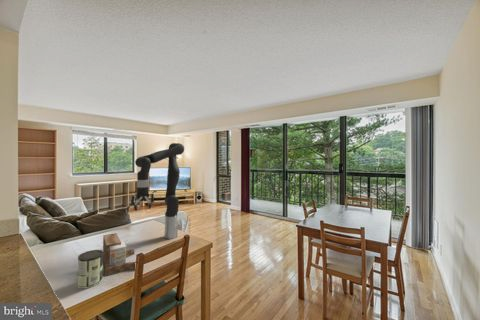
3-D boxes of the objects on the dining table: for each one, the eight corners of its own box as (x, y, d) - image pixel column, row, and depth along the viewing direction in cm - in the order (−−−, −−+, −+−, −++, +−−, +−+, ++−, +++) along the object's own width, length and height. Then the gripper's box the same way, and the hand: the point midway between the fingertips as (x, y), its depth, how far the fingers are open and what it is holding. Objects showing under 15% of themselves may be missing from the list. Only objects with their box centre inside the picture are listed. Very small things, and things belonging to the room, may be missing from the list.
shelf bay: (133, 253, 137) (134, 228, 137) (142, 268, 119) (143, 240, 119) (101, 260, 127) (102, 233, 127) (106, 278, 108) (107, 247, 108)
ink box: (108, 270, 116) (109, 249, 116) (106, 264, 122) (107, 244, 122) (126, 266, 121) (126, 246, 121) (123, 260, 128) (123, 241, 128)
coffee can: (90, 275, 110) (90, 248, 110) (107, 277, 109) (108, 250, 109) (71, 287, 100) (72, 257, 100) (90, 290, 99) (91, 260, 99)
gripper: (151, 184, 152) (151, 207, 152) (130, 186, 142) (129, 210, 143) (155, 186, 146) (154, 209, 146) (132, 187, 137) (132, 212, 137)
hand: (142, 209), depth 144 cm, fingers open, 8 cm apart
